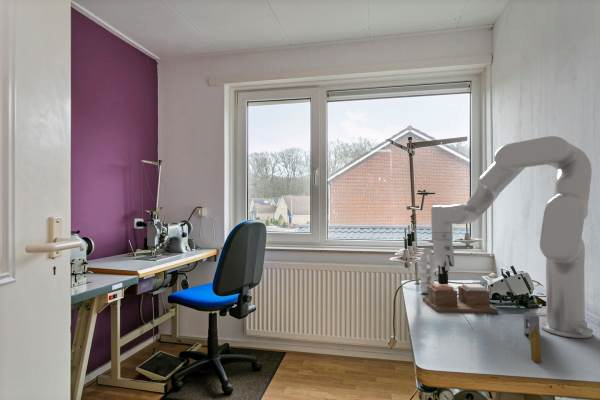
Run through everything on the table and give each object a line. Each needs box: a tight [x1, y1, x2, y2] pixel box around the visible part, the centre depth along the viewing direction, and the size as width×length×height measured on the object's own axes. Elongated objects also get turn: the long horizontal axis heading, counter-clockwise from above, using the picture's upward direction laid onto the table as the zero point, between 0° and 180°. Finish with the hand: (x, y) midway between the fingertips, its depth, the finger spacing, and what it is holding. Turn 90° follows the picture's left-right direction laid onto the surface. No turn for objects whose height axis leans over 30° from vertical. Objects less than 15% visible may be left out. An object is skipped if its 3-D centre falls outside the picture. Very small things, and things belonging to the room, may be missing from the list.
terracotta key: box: [432, 283, 454, 290], centre depth 133 cm, size 6×6×5 cm
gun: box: [523, 311, 542, 364], centre depth 96 cm, size 3×25×15 cm, turn 149°
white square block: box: [461, 283, 486, 291], centre depth 133 cm, size 6×6×5 cm
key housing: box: [422, 285, 499, 314], centre depth 133 cm, size 16×22×7 cm
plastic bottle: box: [419, 247, 436, 295], centre depth 154 cm, size 6×7×20 cm
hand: (443, 283), depth 133 cm, fingers closed
